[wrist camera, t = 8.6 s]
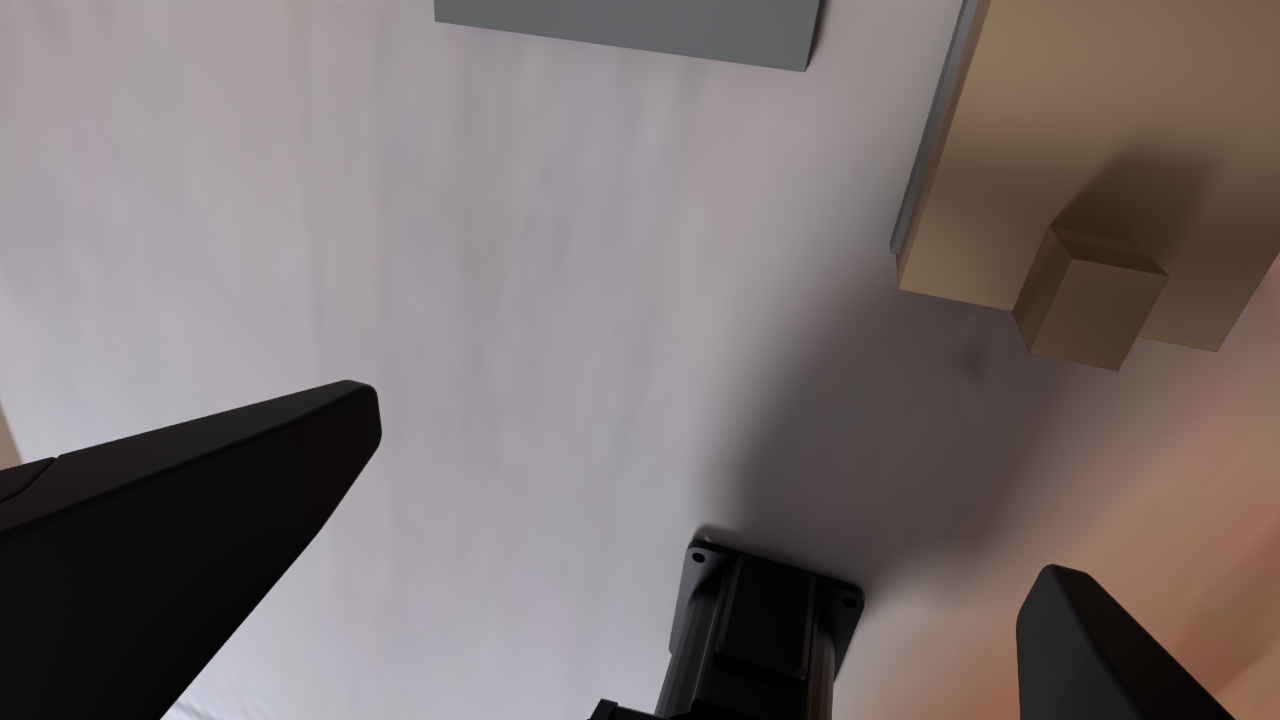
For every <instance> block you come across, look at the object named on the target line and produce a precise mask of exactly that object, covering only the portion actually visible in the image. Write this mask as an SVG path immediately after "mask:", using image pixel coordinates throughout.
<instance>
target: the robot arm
mask: <svg viewBox="0 0 1280 720" xmlns="http://www.w3.org/2000/svg"><path fill="white" fill-rule="evenodd" d="M381 437H382V427H381V419H380V411H379V403H378V396H377V392H376V390H375V389H374V388H373V387H372V386H371V385H368V384H364V383H360V382H357V381H353V380H342V381H338V382H335V383H331V384H327V385H323V386H319V387H316V388H312V389H308V390H304V391H300V392H297V393H293V394H289V395H285V396H281V397H278V398H274V399H270V400H266V401H262V402H259V403H255V404H251V405H247V406H244V407H240V408H236V409H232V410H228V411H225V412H221V413H217V414H213V415H209V416H206V417H202V418H198V419H194V420H190V421H187V422H183V423H179V424H175V425H171V426H168V427H164V428H160V429H156V430H152V431H149V432H145V433H141V434H137V435H133V436H130V437H126V438H122V439H118V440H114V441H111V442H107V443H103V444H99V445H95V446H92V447H88V448H84V449H80V450H76V451H73V452H69V453H65V454H61V455H60V456H58V457H57V458H55V457H49V458H45V459H42V460H38V461H34V462H30V463H27V464H23V465H19V466H15V467H11V468H7V469H4V470H0V720H160V719H161V718H162V717H163V716H164V715H165V713H166V712H167V711H168V710H169V709H170V708H171V706H172V705H173V704H174V703H175V702H176V700H177V699H178V698H179V697H180V696H181V695H182V693H183V692H184V691H185V690H186V689H187V687H188V686H189V685H190V684H191V683H192V682H193V680H194V679H195V678H196V677H197V676H198V675H199V673H200V672H201V671H202V670H203V669H204V667H205V666H206V665H207V664H208V663H209V662H210V660H211V659H212V658H213V657H214V656H215V655H216V653H217V652H218V651H219V650H220V649H221V647H222V646H223V645H224V644H225V643H226V642H227V640H228V639H229V638H230V637H231V636H232V634H233V633H234V632H235V631H236V630H237V629H238V627H239V626H240V625H241V624H242V623H243V622H244V620H245V619H246V618H247V617H248V616H249V614H250V613H251V612H252V611H253V610H254V609H255V607H256V606H257V605H258V604H259V603H260V602H261V600H262V599H263V598H264V597H265V596H266V594H267V593H268V592H269V591H270V590H271V589H272V587H273V586H274V585H275V584H276V583H277V581H278V580H279V579H280V578H281V577H282V576H283V574H284V573H285V572H286V571H287V570H288V569H289V567H290V566H291V565H292V564H293V563H294V561H295V560H296V559H297V558H298V557H299V556H300V554H301V553H302V552H303V551H304V550H305V549H306V547H307V546H308V545H309V544H310V543H311V541H312V540H313V539H314V538H315V536H316V535H317V534H318V533H319V531H320V530H321V529H322V527H323V526H324V525H325V523H326V522H327V521H328V519H329V518H330V516H331V515H332V514H333V512H334V511H335V509H336V508H337V506H338V505H339V503H340V502H341V501H342V499H343V498H344V496H345V495H346V493H347V492H348V490H349V489H350V488H351V486H352V485H353V483H354V482H355V480H356V479H357V477H358V476H359V475H360V473H361V472H362V470H363V469H364V467H365V466H366V464H367V463H368V461H369V460H370V459H371V457H372V456H373V454H374V453H375V451H376V450H377V448H378V446H379V444H380V441H381ZM696 552H697V553H701V554H703V555H699V554H697V553H696ZM846 597H851V598H853V599H848V598H846ZM864 603H865V594H864V592H863V590H862V589H861V588H860V587H858V586H856V585H854V584H851V583H847V582H844V581H840V580H837V579H833V578H830V577H827V576H823V575H820V574H816V573H813V572H809V571H806V570H802V569H799V568H796V567H792V566H789V565H785V564H782V563H778V562H775V561H772V560H768V559H765V558H761V557H758V556H754V555H751V554H748V553H744V552H741V551H737V550H734V549H730V548H727V547H724V546H720V545H717V544H713V543H710V542H706V541H703V540H694V541H692V542H690V544H689V546H688V548H687V551H686V555H685V560H684V566H683V571H682V577H681V582H680V588H679V593H678V599H677V604H676V610H675V616H674V621H673V627H672V632H671V638H670V643H669V651H670V653H671V654H672V656H671V660H670V663H669V666H668V670H667V673H666V676H665V680H664V683H663V686H662V689H661V693H660V696H659V699H658V703H657V706H656V709H655V713H654V715H653V714H649V713H645V712H641V711H637V710H633V709H629V708H625V707H621V706H618V703H617V702H614V701H610V700H606V699H601V700H600V702H599V703H598V705H597V707H596V709H595V710H594V712H593V714H592V716H591V717H590V719H587V720H832V702H833V685H834V681H835V679H836V676H837V674H838V671H839V669H840V666H841V664H842V661H843V659H844V656H845V654H846V651H847V649H848V646H849V644H850V641H851V639H852V636H853V634H854V631H855V629H856V626H857V624H858V621H859V619H860V616H861V614H862V611H863V609H864ZM1016 641H1017V661H1018V681H1019V701H1020V720H1236V719H1235V718H1234V717H1233V716H1232V715H1231V714H1230V713H1229V712H1228V711H1227V710H1226V709H1225V708H1224V707H1223V706H1222V705H1221V704H1220V703H1219V702H1218V701H1217V700H1216V699H1215V698H1214V697H1213V696H1212V695H1211V694H1210V693H1209V692H1208V691H1207V690H1206V689H1204V688H1203V687H1202V686H1201V685H1200V684H1199V683H1198V682H1197V681H1196V680H1195V679H1194V678H1193V677H1192V676H1191V675H1190V674H1189V673H1188V672H1187V671H1186V670H1185V669H1184V668H1183V667H1182V666H1181V665H1180V664H1179V663H1178V662H1177V661H1176V660H1175V659H1174V658H1173V657H1172V656H1171V655H1170V654H1169V653H1168V652H1167V651H1166V650H1165V649H1164V648H1163V647H1162V646H1161V645H1160V644H1159V643H1158V642H1157V641H1156V640H1155V639H1154V638H1153V637H1152V636H1151V635H1150V634H1149V633H1148V632H1147V631H1146V630H1145V629H1144V628H1143V627H1142V626H1141V625H1140V624H1139V623H1138V622H1137V621H1136V620H1135V619H1134V618H1133V617H1132V616H1131V615H1130V614H1129V613H1128V612H1127V611H1126V610H1125V609H1124V608H1123V607H1122V606H1121V605H1120V604H1119V603H1118V602H1117V601H1116V600H1115V599H1114V598H1113V597H1112V596H1111V595H1110V594H1109V593H1108V592H1107V591H1106V590H1105V589H1104V588H1103V587H1102V586H1101V585H1100V584H1099V583H1098V582H1097V581H1096V580H1095V579H1094V578H1092V577H1091V576H1090V575H1089V574H1087V573H1085V572H1082V571H1079V570H1075V569H1071V568H1067V567H1064V566H1060V565H1056V564H1050V565H1047V566H1045V567H1044V568H1043V569H1042V570H1041V572H1040V573H1039V575H1038V577H1037V579H1036V581H1035V583H1034V584H1033V586H1032V588H1031V590H1030V592H1029V594H1028V596H1027V597H1026V599H1025V601H1024V603H1023V605H1022V607H1021V609H1020V611H1019V614H1018V617H1017V623H1016Z"/></svg>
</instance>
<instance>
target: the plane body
mask: <svg viewBox="0 0 1280 720" xmlns="http://www.w3.org/2000/svg"><path fill="white" fill-rule="evenodd" d="M890 250H891V253H893V254H896V261H897V273H898V285H899V289H901V290H906V291H911V292H916V293H921V294H926V295H931V296H936V297H941V298H946V299H952V300H957V301H962V302H967V303H972V304H977V305H982V306H987V307H992V308H997V309H1002V310H1007V311H1012V313H1013V315H1014V318H1015V320H1016V322H1017V325H1018V327H1019V329H1020V332H1021V334H1022V336H1023V339H1024V341H1025V344H1026V346H1027V348H1028V351H1029V353H1033V354H1038V355H1043V356H1048V357H1052V358H1057V359H1062V360H1067V361H1072V362H1076V363H1081V364H1086V365H1091V366H1095V367H1100V368H1105V369H1110V370H1115V371H1118V370H1119V369H1120V367H1121V365H1122V363H1123V361H1124V359H1125V358H1126V356H1127V354H1128V352H1129V350H1130V348H1131V347H1132V345H1133V343H1134V341H1135V339H1136V337H1137V336H1138V337H1143V338H1148V339H1153V340H1158V341H1163V342H1168V343H1173V344H1178V345H1183V346H1188V347H1193V348H1198V349H1203V350H1208V351H1213V352H1217V351H1218V349H1219V348H1220V346H1221V345H1222V343H1223V341H1224V340H1225V338H1226V337H1227V335H1228V333H1229V332H1230V330H1231V329H1232V327H1233V325H1234V324H1235V322H1236V321H1237V319H1238V317H1239V316H1240V314H1241V313H1242V311H1243V309H1244V308H1245V306H1246V305H1247V303H1248V301H1249V300H1250V298H1251V297H1252V295H1253V293H1254V292H1255V290H1256V289H1257V287H1258V285H1259V284H1260V282H1261V281H1262V279H1263V277H1264V276H1265V274H1266V273H1267V271H1268V269H1269V268H1270V266H1271V265H1272V263H1273V261H1274V260H1275V258H1276V257H1277V255H1278V253H1279V252H1280V0H963V3H962V6H961V10H960V13H959V16H958V20H957V23H956V26H955V30H954V33H953V36H952V40H951V43H950V46H949V49H948V53H947V56H946V59H945V63H944V66H943V69H942V73H941V76H940V79H939V83H938V86H937V89H936V93H935V96H934V99H933V102H932V106H931V109H930V112H929V116H928V119H927V122H926V126H925V129H924V132H923V136H922V139H921V142H920V145H919V149H918V152H917V155H916V159H915V162H914V165H913V169H912V172H911V175H910V179H909V182H908V185H907V188H906V192H905V195H904V198H903V202H902V205H901V208H900V212H899V215H898V218H897V222H896V225H895V228H894V232H893V235H892V238H891V241H890Z"/></svg>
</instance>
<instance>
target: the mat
mask: <svg viewBox="0 0 1280 720" xmlns="http://www.w3.org/2000/svg"><path fill="white" fill-rule="evenodd" d="M820 3H821V0H434V10H435V21H436V22H443V23H450V24H457V25H465V26H472V27H479V28H486V29H494V30H501V31H508V32H516V33H523V34H530V35H537V36H545V37H552V38H559V39H566V40H574V41H581V42H588V43H596V44H603V45H610V46H617V47H625V48H632V49H639V50H646V51H654V52H661V53H668V54H676V55H683V56H690V57H697V58H705V59H712V60H719V61H727V62H734V63H741V64H748V65H756V66H763V67H770V68H777V69H785V70H792V71H799V72H805V71H806V70H807V66H808V61H809V56H810V52H811V47H812V42H813V37H814V32H815V27H816V22H817V17H818V13H819V8H820Z"/></svg>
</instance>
